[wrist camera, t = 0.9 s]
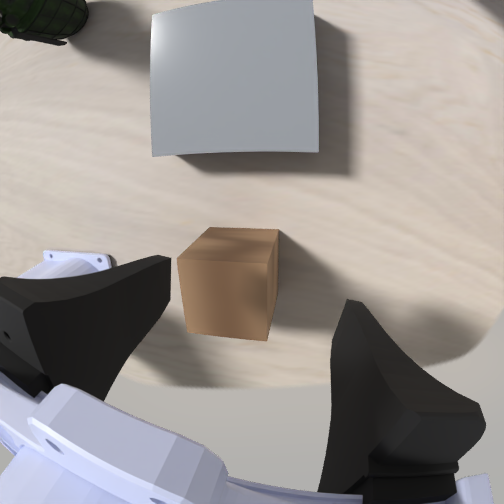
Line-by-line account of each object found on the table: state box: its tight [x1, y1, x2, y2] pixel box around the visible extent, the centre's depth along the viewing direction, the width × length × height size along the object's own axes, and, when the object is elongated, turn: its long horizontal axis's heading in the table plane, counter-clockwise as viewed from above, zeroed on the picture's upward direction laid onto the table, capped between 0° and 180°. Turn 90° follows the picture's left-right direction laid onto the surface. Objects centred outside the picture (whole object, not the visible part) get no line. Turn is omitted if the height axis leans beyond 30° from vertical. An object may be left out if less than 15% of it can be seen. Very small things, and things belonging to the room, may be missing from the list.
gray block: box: [150, 0, 319, 157], centre depth 16 cm, size 10×10×4 cm
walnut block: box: [177, 227, 279, 341], centre depth 19 cm, size 5×5×6 cm
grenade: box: [0, 0, 88, 46], centre depth 11 cm, size 6×6×12 cm
